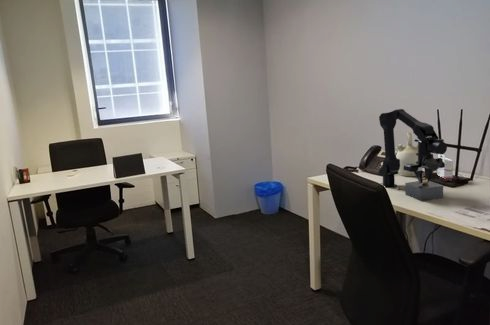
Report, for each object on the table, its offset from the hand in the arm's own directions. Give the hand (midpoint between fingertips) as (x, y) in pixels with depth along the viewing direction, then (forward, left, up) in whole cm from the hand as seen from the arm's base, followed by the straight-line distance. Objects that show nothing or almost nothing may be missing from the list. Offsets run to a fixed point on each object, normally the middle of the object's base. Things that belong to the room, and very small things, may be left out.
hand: (423, 183), depth 190 cm
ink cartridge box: (-20, +28, -7) cm, 35 cm away
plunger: (0, 0, -5) cm, 5 cm away
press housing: (0, 0, -7) cm, 7 cm away
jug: (-40, +20, -7) cm, 45 cm away
